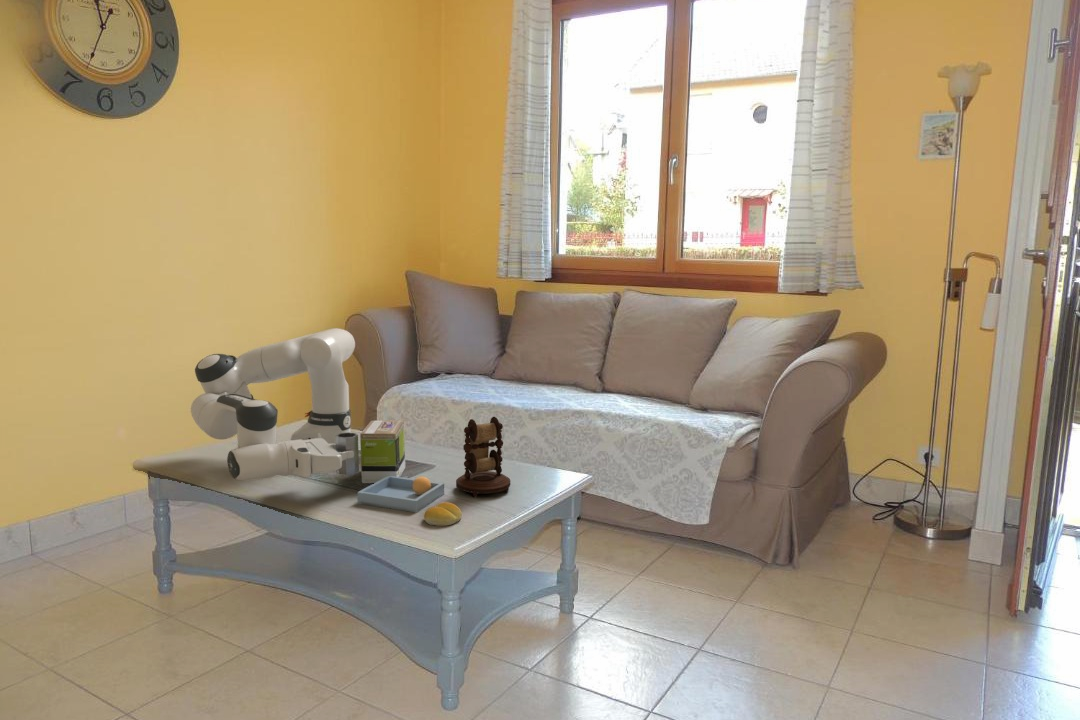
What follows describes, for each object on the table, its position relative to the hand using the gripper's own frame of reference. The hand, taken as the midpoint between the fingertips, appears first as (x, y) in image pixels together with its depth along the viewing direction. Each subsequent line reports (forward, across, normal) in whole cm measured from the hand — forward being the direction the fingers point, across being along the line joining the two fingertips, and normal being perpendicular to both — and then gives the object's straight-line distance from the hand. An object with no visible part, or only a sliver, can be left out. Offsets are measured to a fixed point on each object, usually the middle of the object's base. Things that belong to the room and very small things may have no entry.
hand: (349, 450), depth 204 cm
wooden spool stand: (+32, +15, -12) cm, 37 cm away
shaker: (-1, 0, -6) cm, 6 cm away
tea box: (+12, -8, -12) cm, 19 cm away
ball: (+15, +13, -8) cm, 22 cm away
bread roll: (+14, +31, -12) cm, 36 cm away
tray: (+10, +12, -11) cm, 19 cm away
